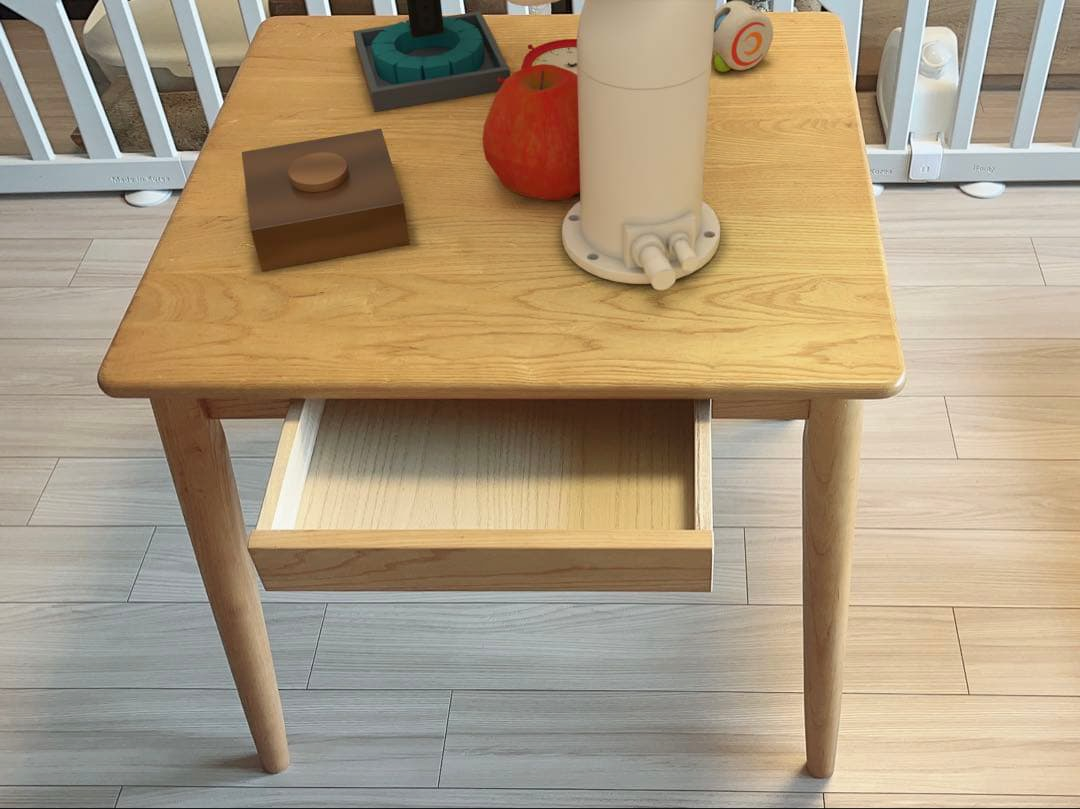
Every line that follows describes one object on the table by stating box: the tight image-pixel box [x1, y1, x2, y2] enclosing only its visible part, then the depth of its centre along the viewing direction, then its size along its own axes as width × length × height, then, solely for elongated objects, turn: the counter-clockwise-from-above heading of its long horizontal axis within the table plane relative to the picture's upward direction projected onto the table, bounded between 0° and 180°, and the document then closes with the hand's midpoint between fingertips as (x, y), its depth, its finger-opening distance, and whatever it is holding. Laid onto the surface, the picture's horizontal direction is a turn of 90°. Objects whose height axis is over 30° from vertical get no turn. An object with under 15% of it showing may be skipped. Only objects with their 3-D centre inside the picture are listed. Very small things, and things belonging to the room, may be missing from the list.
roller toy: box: [712, 0, 774, 73], centre depth 109 cm, size 4×6×6 cm
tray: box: [352, 10, 511, 112], centre depth 112 cm, size 13×13×2 cm
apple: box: [482, 64, 580, 201], centre depth 93 cm, size 10×10×10 cm
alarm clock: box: [498, 38, 577, 83], centre depth 105 cm, size 10×6×15 cm
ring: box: [371, 16, 484, 85], centre depth 112 cm, size 11×11×2 cm
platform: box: [241, 128, 411, 272], centre depth 93 cm, size 12×12×5 cm
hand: (419, 13), depth 113 cm, fingers open, 9 cm apart
